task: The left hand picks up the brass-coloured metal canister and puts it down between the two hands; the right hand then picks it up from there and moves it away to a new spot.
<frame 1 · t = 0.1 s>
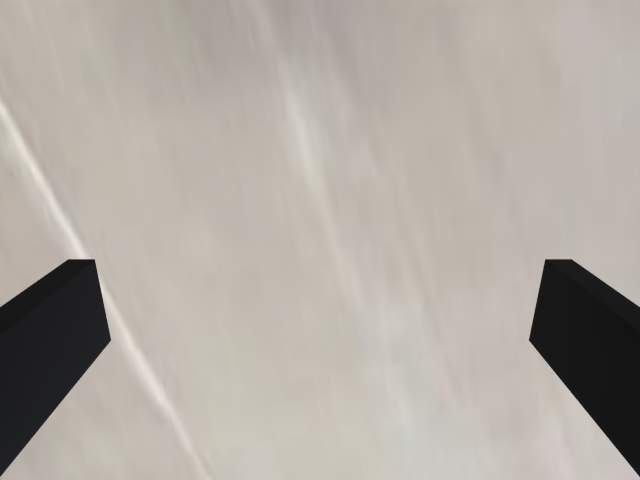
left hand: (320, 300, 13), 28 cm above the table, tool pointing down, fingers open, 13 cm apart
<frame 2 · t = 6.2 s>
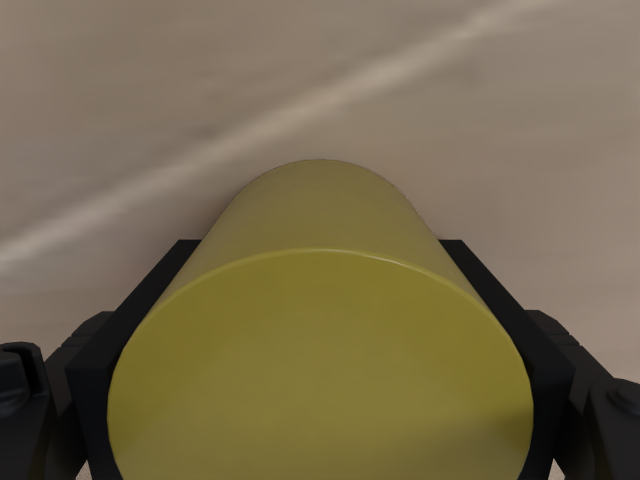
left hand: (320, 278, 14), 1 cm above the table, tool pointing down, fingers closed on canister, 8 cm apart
canister: (320, 267, 15), on the table, touching left hand
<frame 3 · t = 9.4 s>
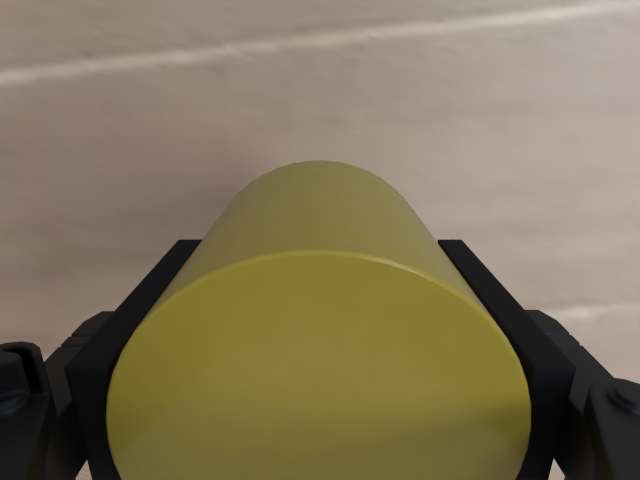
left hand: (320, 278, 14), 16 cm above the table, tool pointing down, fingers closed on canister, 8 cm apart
canister: (319, 268, 15), point 15 cm above the table, touching left hand
when the left hand's fingers open (2 cm above the table, at t = 12.9 s): canister drops 2 cm, on the table.
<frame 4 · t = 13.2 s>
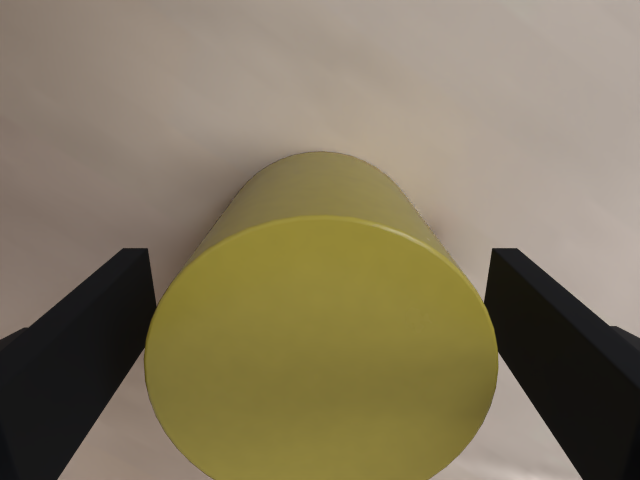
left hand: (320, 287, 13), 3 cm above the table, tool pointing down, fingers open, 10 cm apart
canister: (320, 250, 16), on the table
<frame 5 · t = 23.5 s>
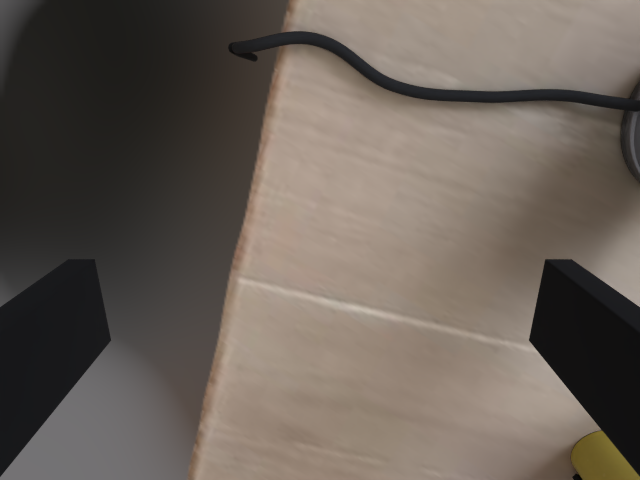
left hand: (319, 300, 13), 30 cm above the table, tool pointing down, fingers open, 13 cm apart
canister: (600, 452, 54), on the table, touching right hand
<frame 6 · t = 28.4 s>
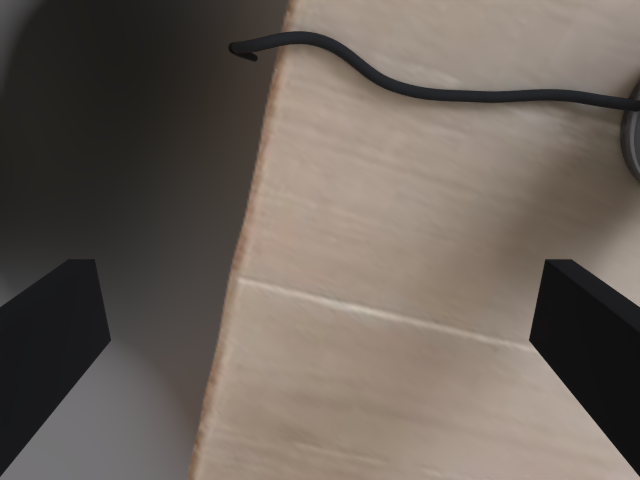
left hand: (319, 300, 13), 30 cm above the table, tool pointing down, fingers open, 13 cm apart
when the right hand's fingers open (2 cm above the table, at t = 33.4 s): canister drops 2 cm, on the table.
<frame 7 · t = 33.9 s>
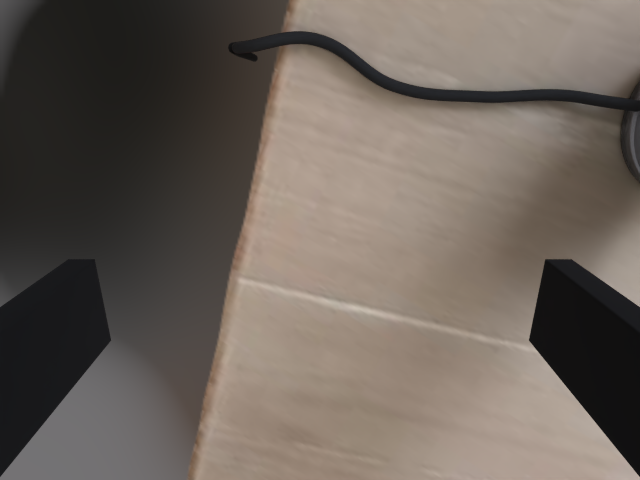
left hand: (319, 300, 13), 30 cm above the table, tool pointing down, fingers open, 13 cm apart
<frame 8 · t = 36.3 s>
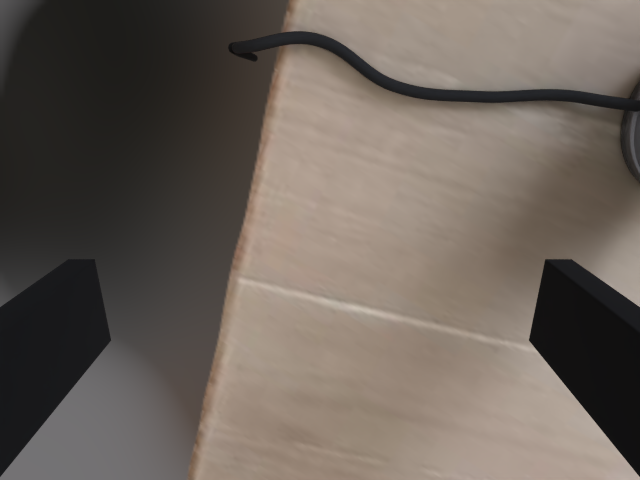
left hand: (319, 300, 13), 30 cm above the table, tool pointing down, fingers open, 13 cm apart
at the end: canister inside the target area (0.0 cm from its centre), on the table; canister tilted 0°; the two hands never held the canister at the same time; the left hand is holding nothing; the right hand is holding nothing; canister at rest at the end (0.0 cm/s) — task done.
